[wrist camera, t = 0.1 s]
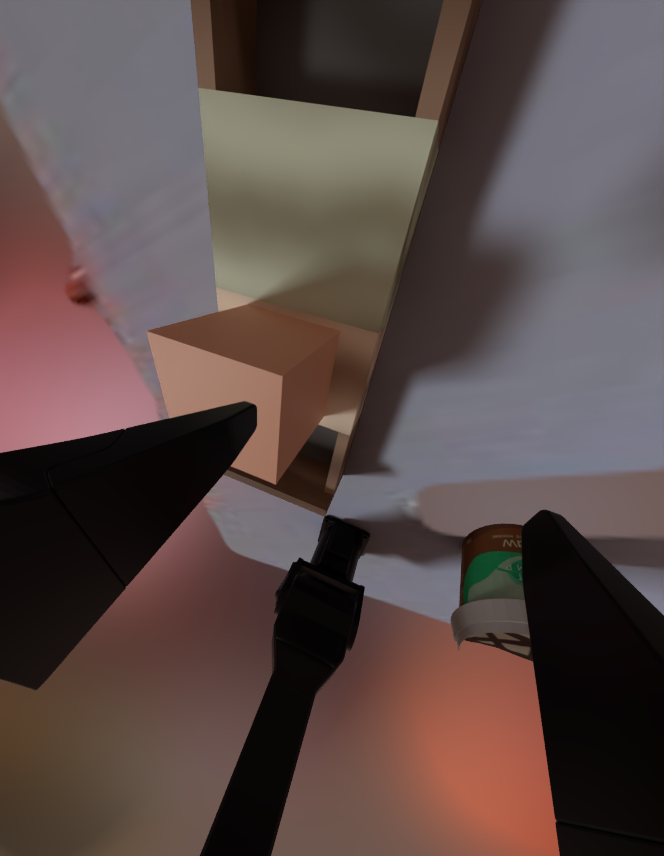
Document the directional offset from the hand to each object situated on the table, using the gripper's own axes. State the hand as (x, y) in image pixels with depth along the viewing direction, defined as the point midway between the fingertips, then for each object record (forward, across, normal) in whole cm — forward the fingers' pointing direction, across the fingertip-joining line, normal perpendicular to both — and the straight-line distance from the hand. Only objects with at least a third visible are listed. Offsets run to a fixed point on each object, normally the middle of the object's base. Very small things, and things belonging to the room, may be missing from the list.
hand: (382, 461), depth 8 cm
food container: (+15, -16, +16) cm, 27 cm away
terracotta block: (+11, +8, +3) cm, 14 cm away
